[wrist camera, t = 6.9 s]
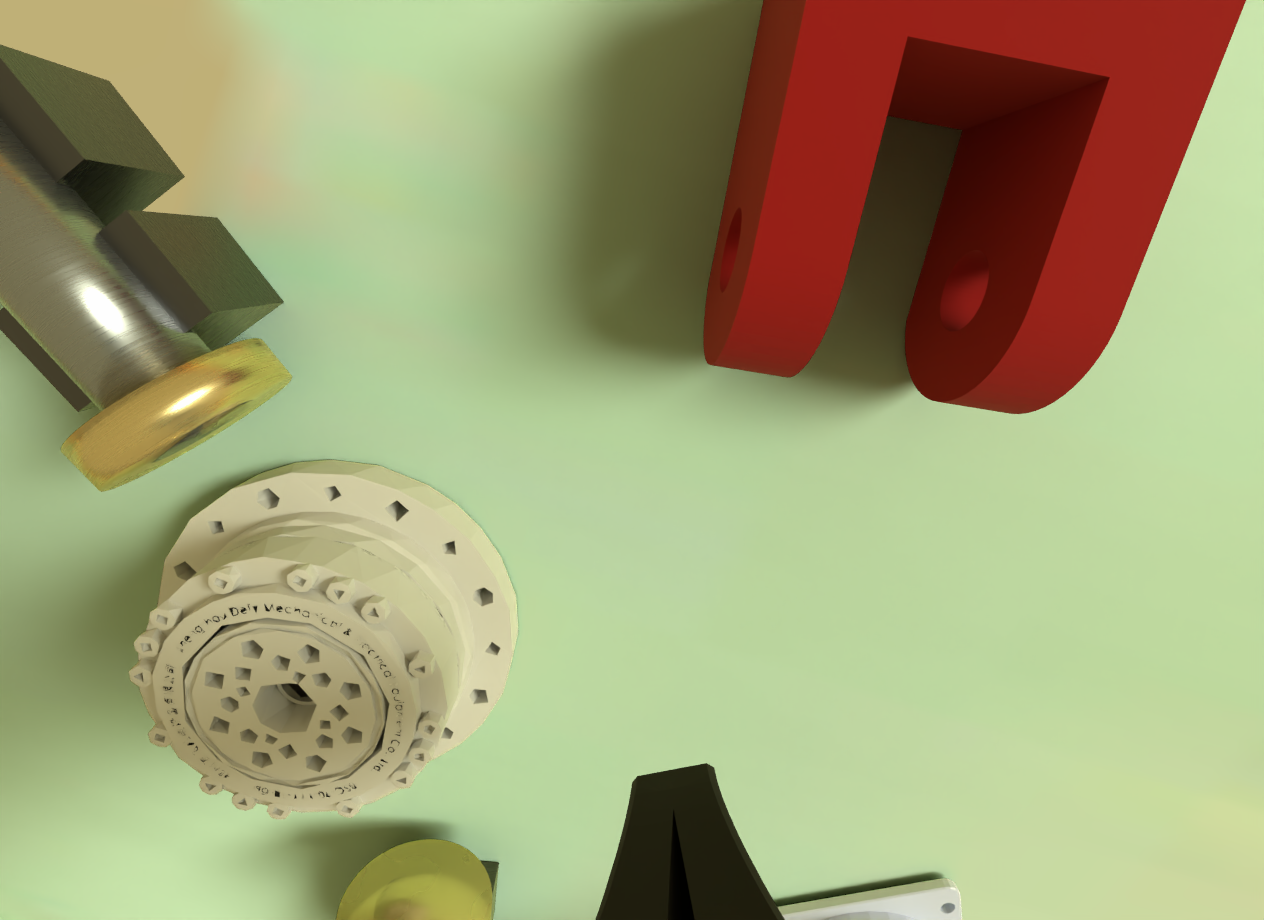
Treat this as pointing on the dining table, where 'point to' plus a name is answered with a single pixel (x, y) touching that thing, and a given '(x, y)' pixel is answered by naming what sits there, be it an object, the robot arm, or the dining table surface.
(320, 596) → the mechanical component
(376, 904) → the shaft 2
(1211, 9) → the mechanical linkage
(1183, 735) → the dining table surface
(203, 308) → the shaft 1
